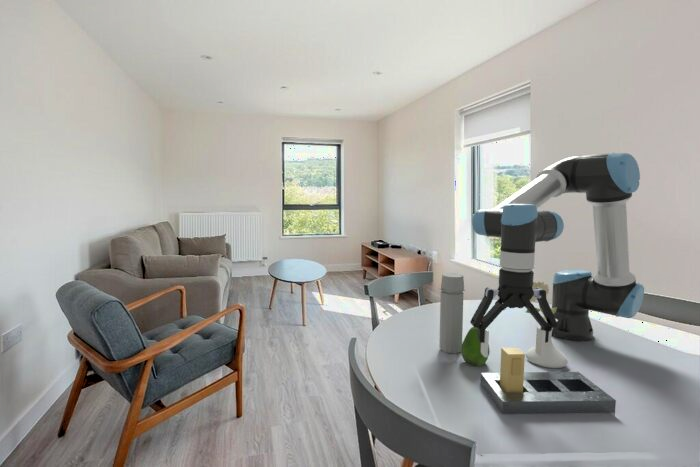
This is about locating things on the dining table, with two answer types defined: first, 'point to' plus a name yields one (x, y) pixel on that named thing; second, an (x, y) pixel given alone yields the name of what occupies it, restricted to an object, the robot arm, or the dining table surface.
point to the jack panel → (549, 394)
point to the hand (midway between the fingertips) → (511, 355)
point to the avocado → (473, 349)
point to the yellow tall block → (512, 369)
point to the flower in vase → (551, 353)
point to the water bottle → (451, 312)
